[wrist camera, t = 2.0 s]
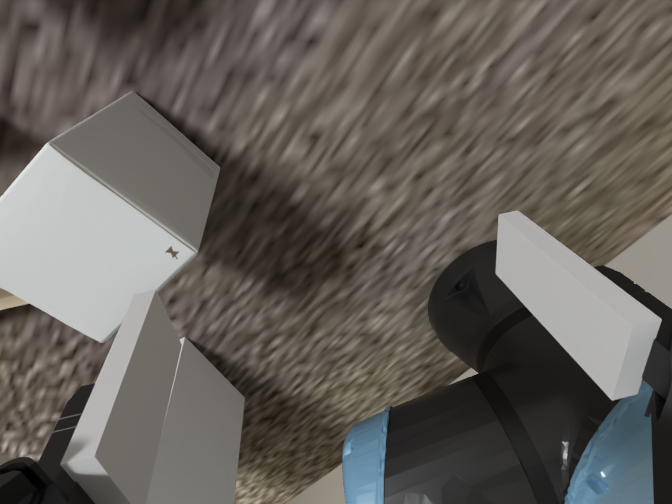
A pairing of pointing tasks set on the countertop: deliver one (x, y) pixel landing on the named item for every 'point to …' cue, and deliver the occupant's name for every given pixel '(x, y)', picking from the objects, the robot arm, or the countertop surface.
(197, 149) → the supplement box
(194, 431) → the milk
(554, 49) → the countertop surface
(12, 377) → the countertop surface
